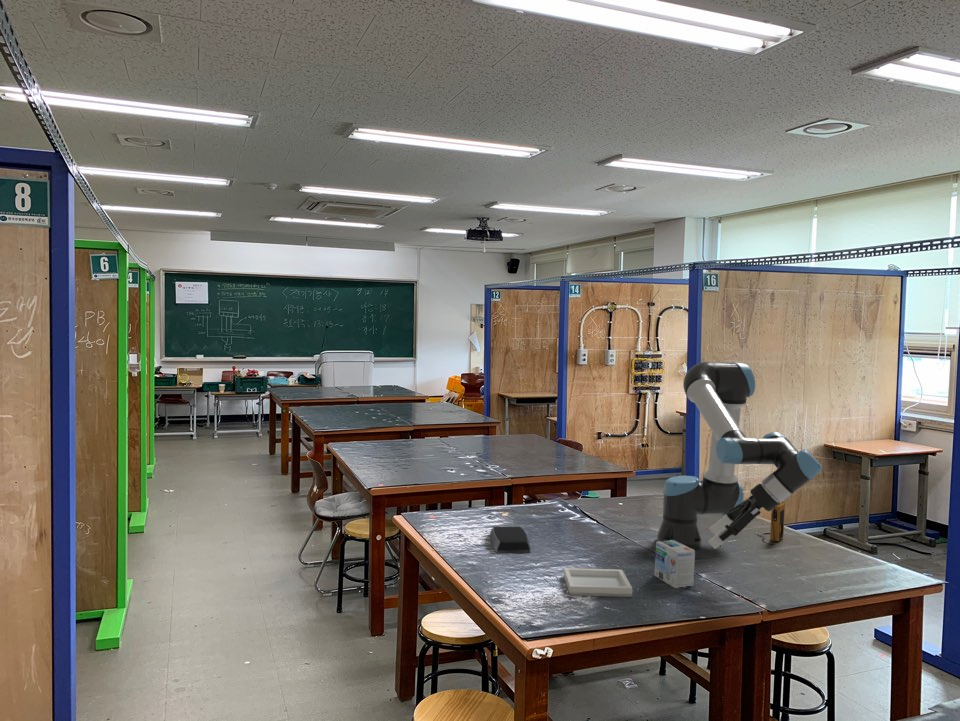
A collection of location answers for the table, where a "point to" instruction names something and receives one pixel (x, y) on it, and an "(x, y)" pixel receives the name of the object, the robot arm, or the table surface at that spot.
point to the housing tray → (597, 582)
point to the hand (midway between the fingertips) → (711, 538)
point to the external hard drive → (509, 540)
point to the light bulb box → (674, 563)
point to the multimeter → (777, 522)
